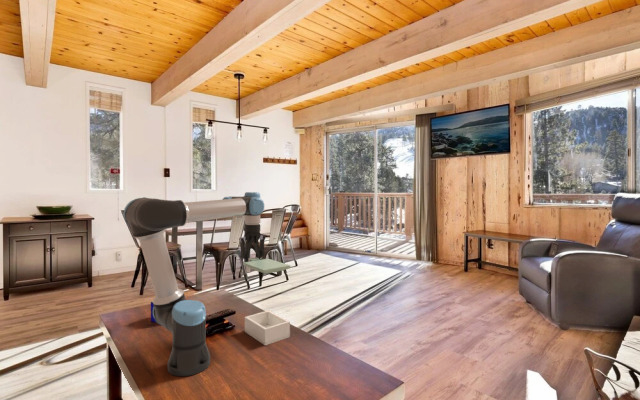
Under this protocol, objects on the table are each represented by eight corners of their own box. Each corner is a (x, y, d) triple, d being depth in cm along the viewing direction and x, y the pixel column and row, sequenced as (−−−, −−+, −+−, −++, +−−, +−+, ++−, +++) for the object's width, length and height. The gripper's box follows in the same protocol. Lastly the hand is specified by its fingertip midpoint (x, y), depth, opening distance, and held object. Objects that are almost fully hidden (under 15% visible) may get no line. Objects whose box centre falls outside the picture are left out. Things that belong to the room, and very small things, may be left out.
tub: (289, 336, 152) (289, 321, 151) (265, 345, 143) (265, 329, 143) (268, 324, 165) (268, 310, 165) (244, 331, 157) (244, 316, 156)
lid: (290, 270, 151) (290, 264, 151) (264, 275, 142) (264, 269, 142) (262, 260, 169) (262, 256, 169) (237, 264, 160) (237, 259, 160)
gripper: (263, 222, 171) (263, 267, 172) (232, 224, 160) (232, 272, 160) (271, 223, 165) (271, 270, 166) (240, 225, 154) (240, 275, 155)
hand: (252, 271), depth 163 cm, fingers closed on lid, 4 cm apart
